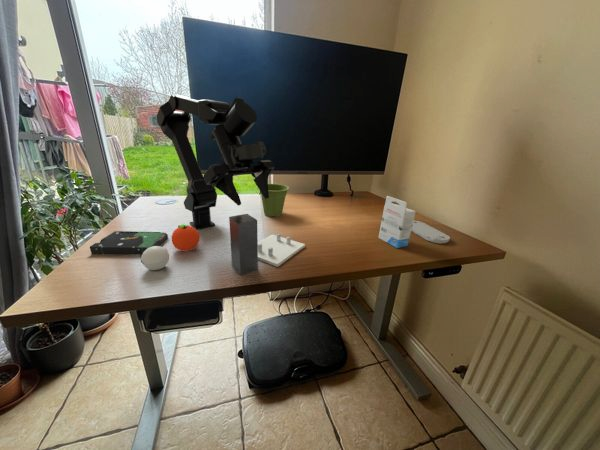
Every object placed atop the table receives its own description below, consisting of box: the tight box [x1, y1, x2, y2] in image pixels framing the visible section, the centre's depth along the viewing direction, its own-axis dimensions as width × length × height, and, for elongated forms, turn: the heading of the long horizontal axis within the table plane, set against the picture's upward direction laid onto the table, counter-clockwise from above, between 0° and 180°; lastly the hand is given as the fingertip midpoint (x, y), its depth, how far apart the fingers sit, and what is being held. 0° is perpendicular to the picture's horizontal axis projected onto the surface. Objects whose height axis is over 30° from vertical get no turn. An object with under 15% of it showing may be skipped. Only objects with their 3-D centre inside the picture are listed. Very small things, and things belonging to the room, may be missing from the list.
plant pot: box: [259, 183, 290, 218], centre depth 95 cm, size 12×12×11 cm
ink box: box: [378, 195, 416, 249], centre depth 76 cm, size 8×5×15 cm, turn 26°
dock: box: [258, 233, 306, 268], centre depth 68 cm, size 12×14×3 cm
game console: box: [411, 219, 451, 245], centre depth 87 cm, size 18×2×8 cm
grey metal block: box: [228, 213, 259, 276], centre depth 57 cm, size 5×4×13 cm
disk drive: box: [89, 230, 169, 256], centre depth 66 cm, size 10×3×15 cm
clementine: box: [171, 224, 201, 252], centre depth 65 cm, size 8×7×7 cm
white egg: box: [140, 245, 170, 271], centre depth 55 cm, size 8×6×6 cm
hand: (254, 201), depth 62 cm, fingers open, 9 cm apart
